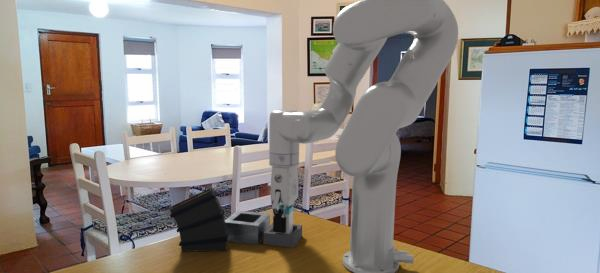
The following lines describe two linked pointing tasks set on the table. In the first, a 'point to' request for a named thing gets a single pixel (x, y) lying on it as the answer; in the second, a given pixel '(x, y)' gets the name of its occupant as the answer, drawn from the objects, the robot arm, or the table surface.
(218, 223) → the magazine
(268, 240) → the grey square frame
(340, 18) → the robot arm
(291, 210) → the plug
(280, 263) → the table surface
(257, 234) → the port block
